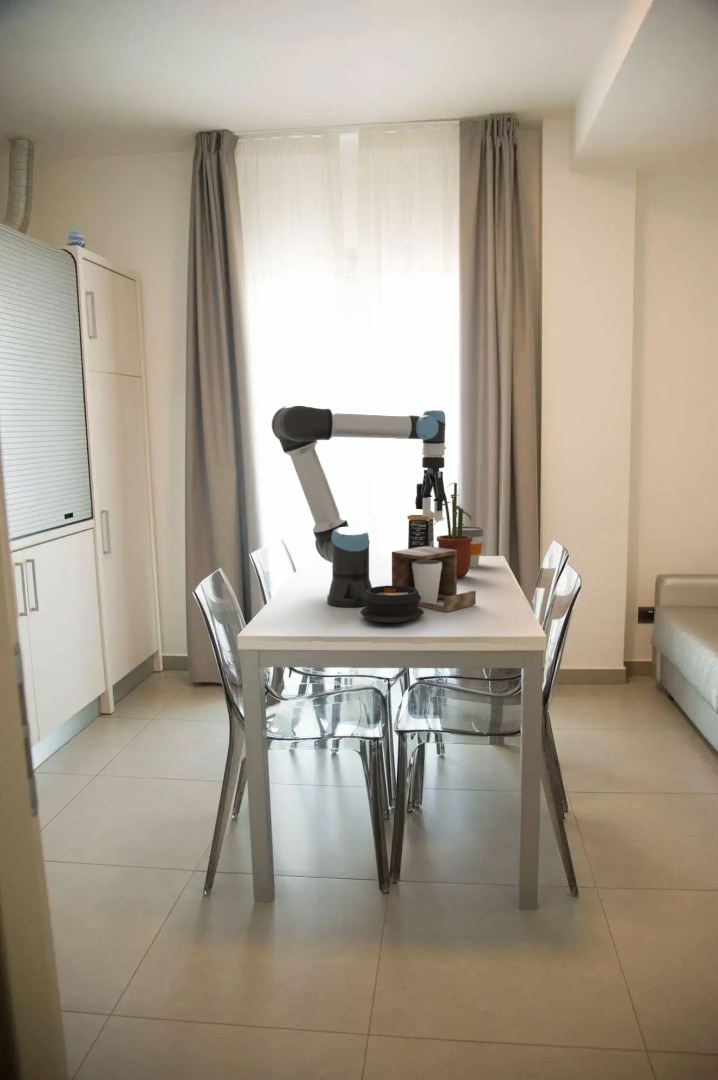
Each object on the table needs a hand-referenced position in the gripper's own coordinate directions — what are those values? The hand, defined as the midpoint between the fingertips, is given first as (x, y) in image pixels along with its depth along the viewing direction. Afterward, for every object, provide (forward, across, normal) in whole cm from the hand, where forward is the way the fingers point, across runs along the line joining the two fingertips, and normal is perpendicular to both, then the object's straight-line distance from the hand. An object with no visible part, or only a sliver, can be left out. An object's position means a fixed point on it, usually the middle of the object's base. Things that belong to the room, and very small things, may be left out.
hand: (432, 518), depth 279 cm
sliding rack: (+24, -27, +7) cm, 36 cm away
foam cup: (+24, -23, +9) cm, 35 cm away
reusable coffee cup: (+24, +37, -26) cm, 51 cm away
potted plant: (+24, +17, -13) cm, 32 cm away
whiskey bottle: (+24, +51, -12) cm, 58 cm away
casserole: (+25, -41, +24) cm, 54 cm away
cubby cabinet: (+24, -22, +9) cm, 33 cm away
